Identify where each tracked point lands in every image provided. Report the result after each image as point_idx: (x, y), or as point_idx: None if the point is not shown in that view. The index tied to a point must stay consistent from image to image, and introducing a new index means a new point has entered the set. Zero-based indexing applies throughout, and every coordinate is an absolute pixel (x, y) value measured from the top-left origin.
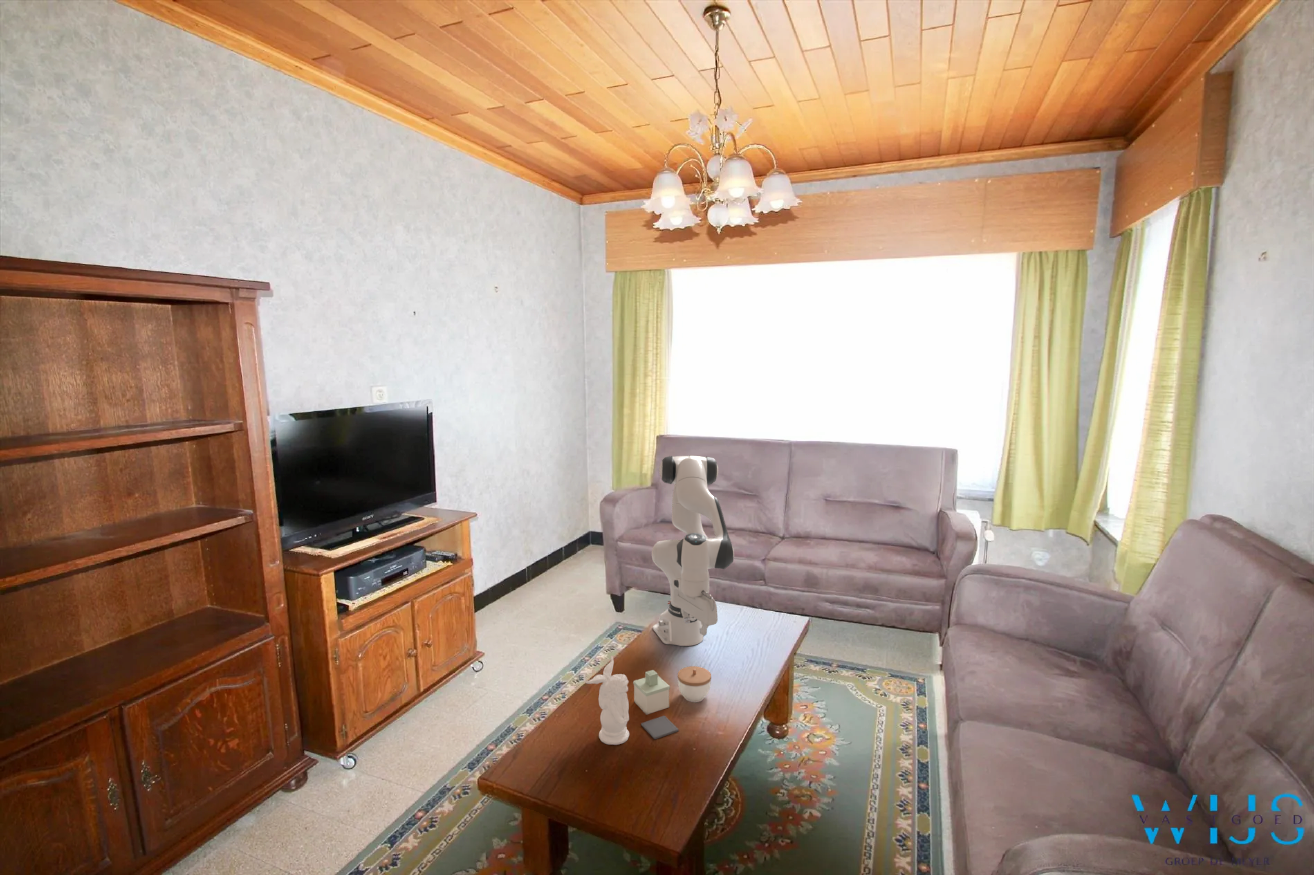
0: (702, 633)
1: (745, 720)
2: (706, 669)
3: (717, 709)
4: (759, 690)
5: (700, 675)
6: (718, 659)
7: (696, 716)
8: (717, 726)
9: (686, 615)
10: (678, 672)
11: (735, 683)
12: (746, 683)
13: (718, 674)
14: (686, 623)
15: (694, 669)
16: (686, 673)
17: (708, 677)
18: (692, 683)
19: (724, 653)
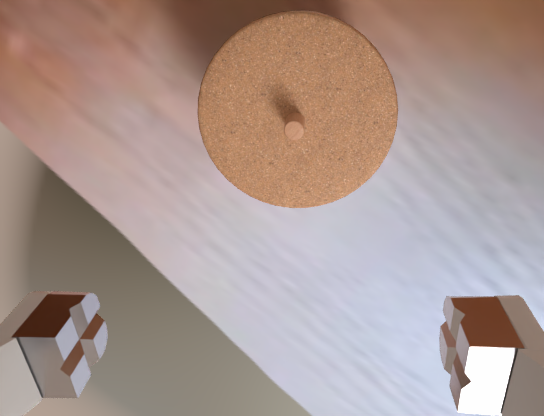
0: (23, 305)
1: (71, 176)
2: (310, 206)
3: (172, 125)
4: (228, 319)
5: (263, 143)
6: None
7: (154, 11)
8: (59, 57)
9: (533, 412)
10: (363, 42)
11: (308, 283)
12: (289, 312)
13: (402, 269)
14: (446, 304)
15: (293, 131)
16: (322, 81)
17: (227, 170)
18: (213, 58)
19: None
